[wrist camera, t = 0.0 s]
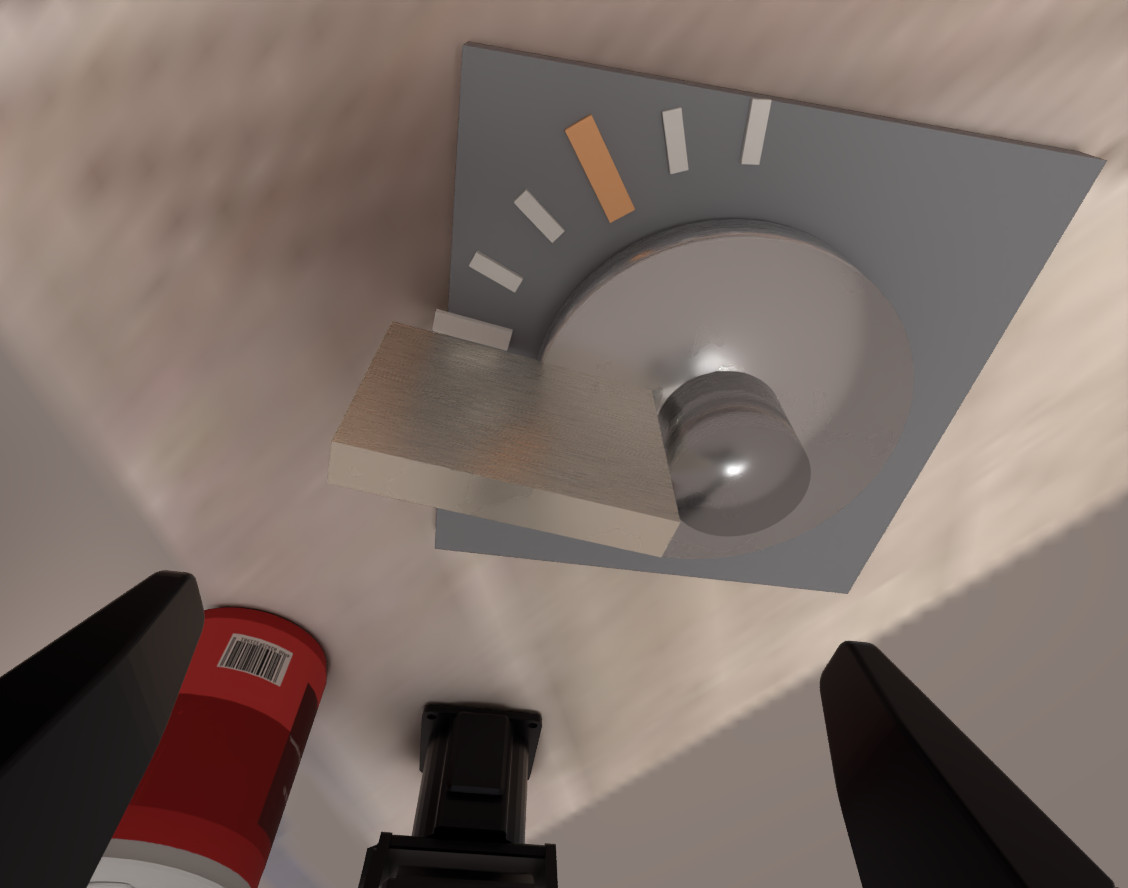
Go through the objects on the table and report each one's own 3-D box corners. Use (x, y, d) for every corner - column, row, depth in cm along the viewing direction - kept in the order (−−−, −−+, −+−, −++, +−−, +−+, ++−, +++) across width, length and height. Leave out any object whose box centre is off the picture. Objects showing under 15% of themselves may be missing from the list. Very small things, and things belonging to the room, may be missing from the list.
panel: (838, 573, 29) (849, 597, 28) (428, 527, 28) (422, 550, 27) (1079, 150, 19) (1112, 161, 18) (451, 37, 17) (443, 41, 16)
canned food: (138, 610, 31) (-36, 866, 22) (298, 594, 30) (187, 851, 21) (210, 703, 35) (90, 948, 26) (352, 691, 35) (279, 938, 26)
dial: (967, 284, 20) (1156, 425, 14) (781, 553, 27) (850, 732, 20) (435, 112, 17) (361, 187, 11) (377, 459, 24) (308, 633, 17)
